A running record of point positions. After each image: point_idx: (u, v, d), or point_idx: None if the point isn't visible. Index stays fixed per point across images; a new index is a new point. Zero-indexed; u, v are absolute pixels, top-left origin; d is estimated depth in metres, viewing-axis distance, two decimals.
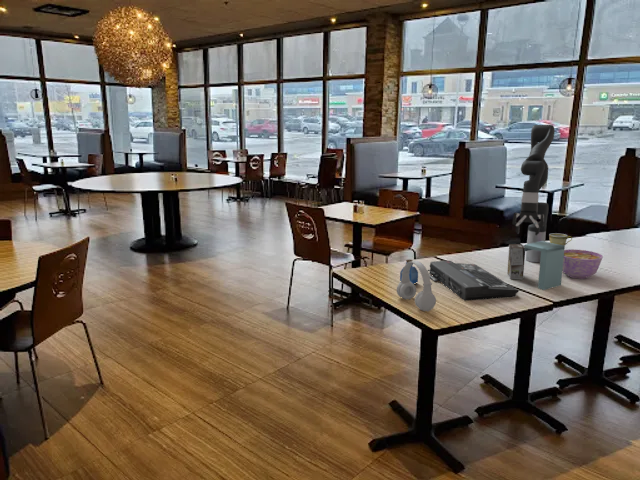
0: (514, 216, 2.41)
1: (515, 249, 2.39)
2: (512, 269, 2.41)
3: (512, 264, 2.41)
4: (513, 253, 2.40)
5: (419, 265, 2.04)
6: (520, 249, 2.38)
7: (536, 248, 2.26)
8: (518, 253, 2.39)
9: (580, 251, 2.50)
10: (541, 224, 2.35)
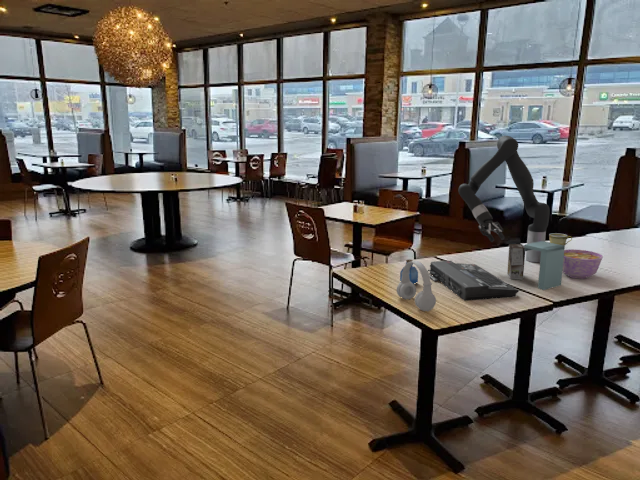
0: None
1: (515, 249, 2.39)
2: (512, 269, 2.41)
3: (512, 264, 2.41)
4: (513, 253, 2.39)
5: (419, 265, 2.04)
6: (520, 249, 2.38)
7: (536, 248, 2.26)
8: (518, 253, 2.39)
9: (580, 251, 2.50)
10: None
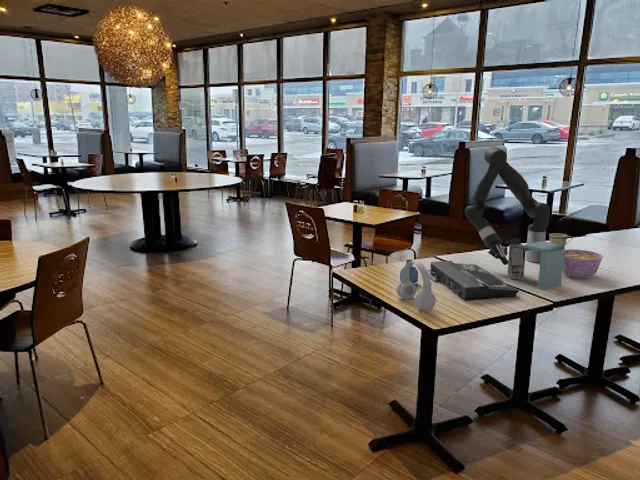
0: None
1: (515, 249, 2.39)
2: (512, 269, 2.41)
3: (512, 264, 2.41)
4: (513, 253, 2.39)
5: (419, 265, 2.04)
6: (520, 249, 2.38)
7: (536, 248, 2.26)
8: (518, 253, 2.39)
9: (580, 251, 2.50)
10: None
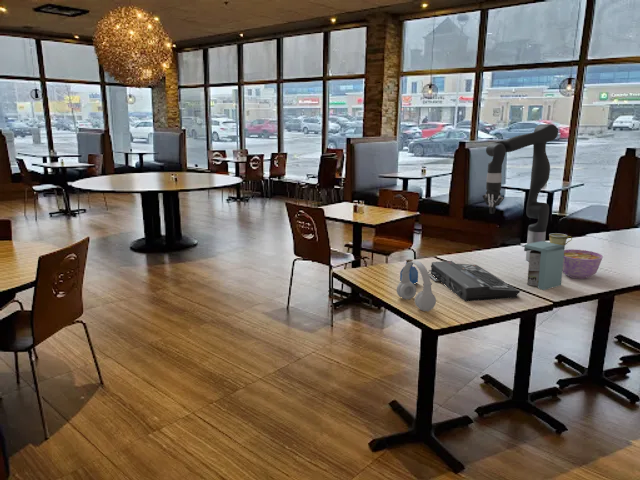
0: (484, 198, 2.63)
1: (532, 254, 2.29)
2: (529, 275, 2.32)
3: (529, 269, 2.31)
4: (530, 258, 2.30)
5: (419, 265, 2.04)
6: (538, 254, 2.28)
7: (536, 248, 2.26)
8: (536, 258, 2.29)
9: (580, 251, 2.50)
10: (495, 204, 2.57)
